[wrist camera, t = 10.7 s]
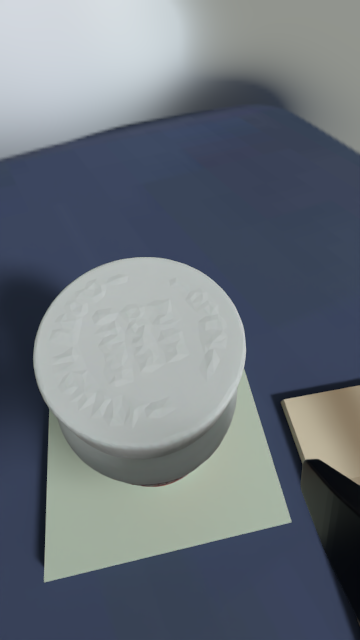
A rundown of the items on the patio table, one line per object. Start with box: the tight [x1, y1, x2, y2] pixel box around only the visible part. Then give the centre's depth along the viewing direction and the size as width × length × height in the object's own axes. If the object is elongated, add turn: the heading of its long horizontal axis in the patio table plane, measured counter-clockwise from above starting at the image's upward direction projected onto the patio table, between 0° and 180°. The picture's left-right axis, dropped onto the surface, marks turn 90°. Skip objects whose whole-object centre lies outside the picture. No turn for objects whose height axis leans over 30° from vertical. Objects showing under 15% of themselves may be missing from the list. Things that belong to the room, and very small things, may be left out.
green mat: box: [44, 369, 291, 582], centre depth 17 cm, size 12×12×1 cm
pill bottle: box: [33, 257, 246, 487], centre depth 12 cm, size 6×6×11 cm
